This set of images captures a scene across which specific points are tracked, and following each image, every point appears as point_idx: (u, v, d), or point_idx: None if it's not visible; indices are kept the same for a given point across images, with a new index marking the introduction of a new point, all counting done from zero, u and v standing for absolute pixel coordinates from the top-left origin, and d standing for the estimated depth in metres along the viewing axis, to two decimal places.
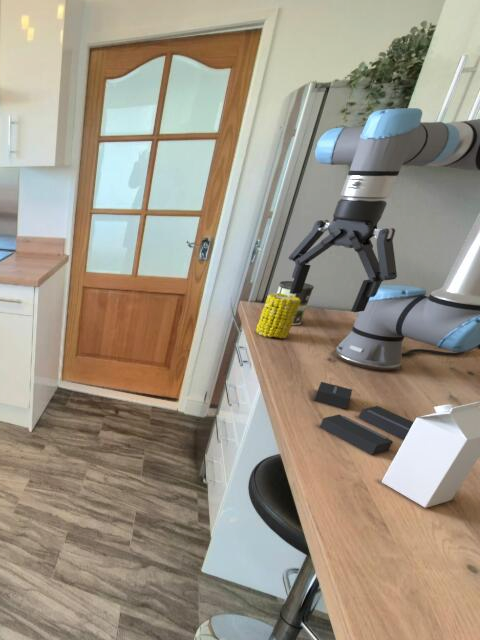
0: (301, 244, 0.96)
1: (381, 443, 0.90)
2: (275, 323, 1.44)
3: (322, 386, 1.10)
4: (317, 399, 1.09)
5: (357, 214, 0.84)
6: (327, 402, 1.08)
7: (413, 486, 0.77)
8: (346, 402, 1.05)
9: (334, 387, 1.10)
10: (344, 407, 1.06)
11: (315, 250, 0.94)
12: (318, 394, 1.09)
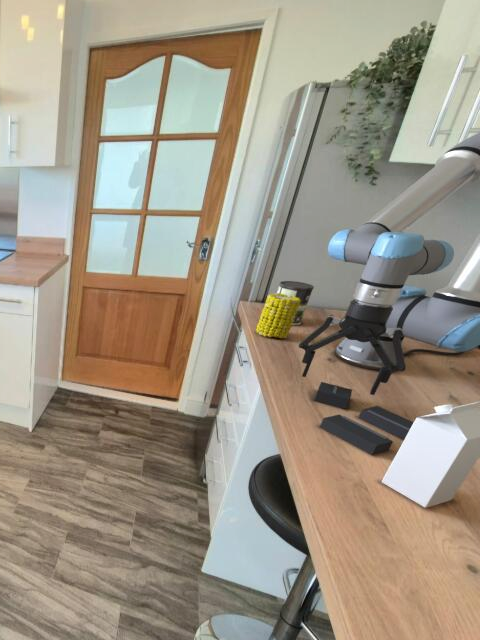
0: (312, 335, 1.07)
1: (381, 443, 0.90)
2: (275, 323, 1.44)
3: (322, 386, 1.10)
4: (317, 399, 1.09)
5: (378, 318, 0.96)
6: (327, 402, 1.08)
7: (413, 486, 0.77)
8: (346, 402, 1.05)
9: (334, 387, 1.10)
10: (344, 407, 1.06)
11: (328, 342, 1.05)
12: (318, 394, 1.09)
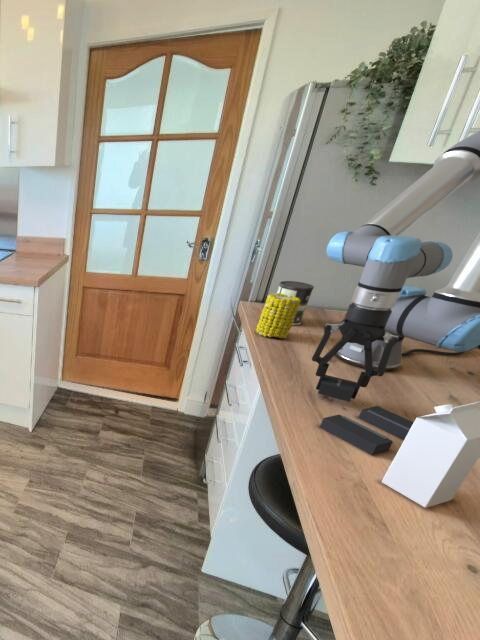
0: (319, 347, 1.07)
1: (381, 443, 0.90)
2: (275, 323, 1.44)
3: (326, 379, 1.10)
4: (321, 392, 1.09)
5: (377, 322, 0.97)
6: (331, 395, 1.07)
7: (413, 486, 0.77)
8: (350, 395, 1.05)
9: (338, 380, 1.09)
10: (348, 400, 1.05)
11: (336, 350, 1.05)
12: (322, 387, 1.08)
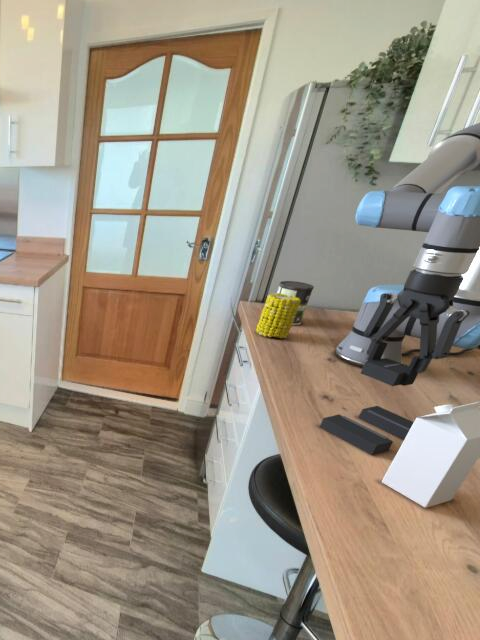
0: (373, 319, 0.94)
1: (381, 443, 0.90)
2: (275, 323, 1.44)
3: (380, 360, 0.94)
4: (364, 372, 0.95)
5: (433, 288, 0.82)
6: (374, 376, 0.93)
7: (413, 486, 0.77)
8: (394, 378, 0.89)
9: (395, 364, 0.93)
10: (391, 383, 0.90)
11: (390, 324, 0.91)
12: (365, 366, 0.94)
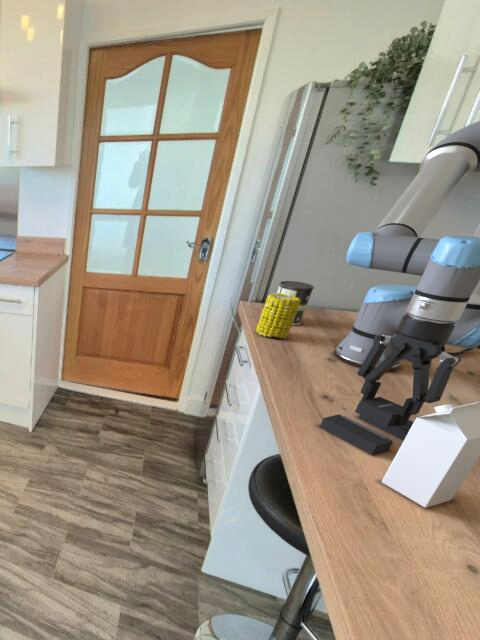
0: (367, 359, 0.95)
1: (381, 443, 0.90)
2: (275, 323, 1.44)
3: (374, 399, 0.96)
4: (358, 411, 0.96)
5: (425, 335, 0.83)
6: (368, 416, 0.94)
7: (413, 486, 0.77)
8: (388, 419, 0.91)
9: (389, 403, 0.94)
10: (385, 424, 0.91)
11: (383, 366, 0.92)
12: (360, 405, 0.95)
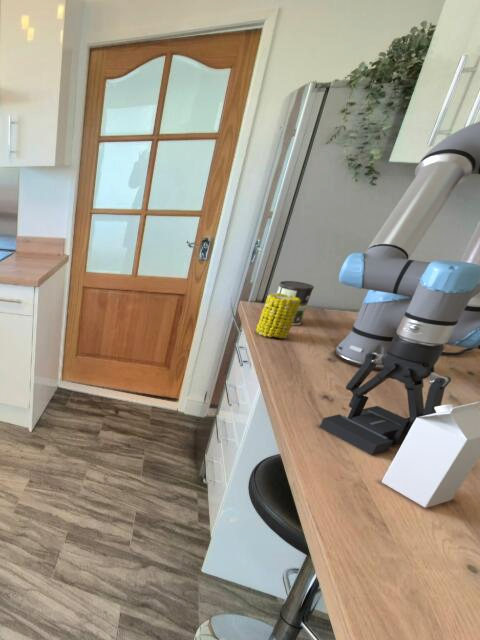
0: (356, 375, 0.97)
1: (381, 443, 0.90)
2: (275, 323, 1.44)
3: (366, 416, 0.98)
4: None
5: (415, 356, 0.85)
6: None
7: (413, 486, 0.77)
8: None
9: (380, 420, 0.96)
10: None
11: (372, 383, 0.94)
12: None
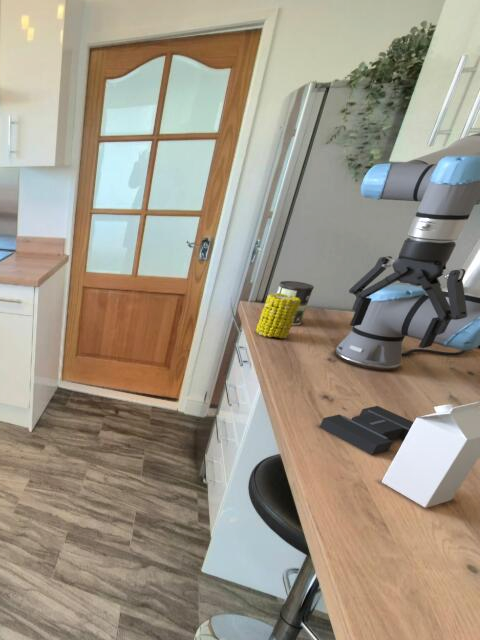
0: (363, 279, 0.99)
1: (381, 443, 0.90)
2: (275, 323, 1.44)
3: (366, 416, 0.98)
4: None
5: (427, 255, 0.86)
6: None
7: (413, 486, 0.77)
8: None
9: (380, 420, 0.96)
10: None
11: (378, 286, 0.96)
12: None
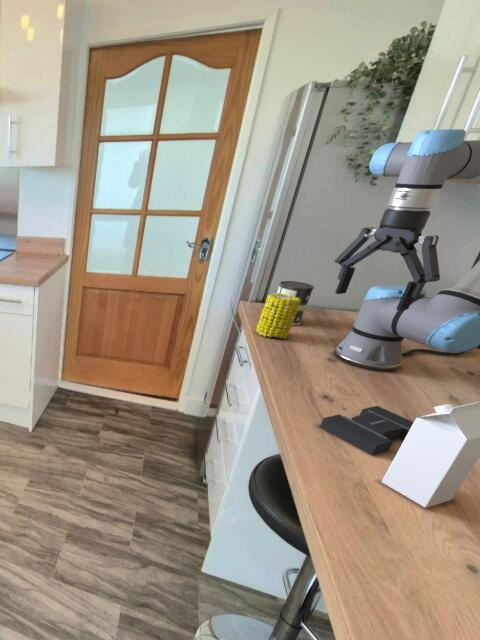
0: (347, 249, 1.06)
1: (381, 443, 0.90)
2: (275, 323, 1.44)
3: (366, 416, 0.98)
4: None
5: (404, 222, 0.93)
6: None
7: (413, 486, 0.77)
8: None
9: (380, 420, 0.96)
10: None
11: (361, 254, 1.03)
12: None
